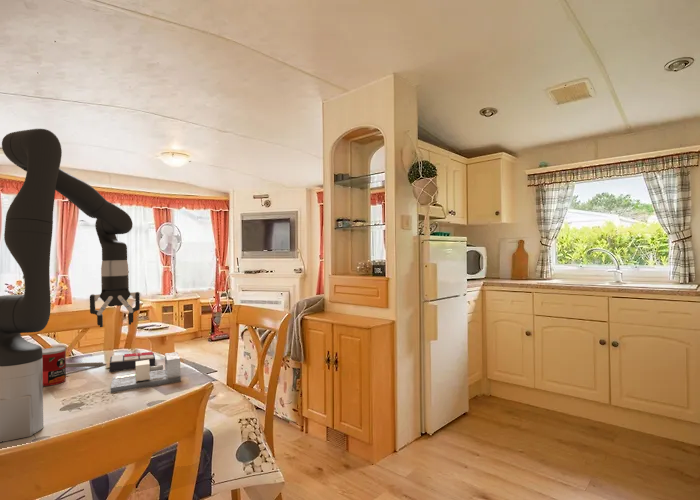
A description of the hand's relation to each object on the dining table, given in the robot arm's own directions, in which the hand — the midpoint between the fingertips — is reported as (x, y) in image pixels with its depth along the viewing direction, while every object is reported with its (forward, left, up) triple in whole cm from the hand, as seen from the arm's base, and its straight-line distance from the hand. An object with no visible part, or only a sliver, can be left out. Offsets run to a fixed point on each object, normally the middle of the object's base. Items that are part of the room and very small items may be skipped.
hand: (115, 325), depth 127 cm
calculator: (+27, -4, -21) cm, 34 cm away
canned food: (+18, +19, -20) cm, 33 cm away
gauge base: (+1, -9, -20) cm, 22 cm away
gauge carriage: (+2, -9, -18) cm, 20 cm away
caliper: (+30, +14, -20) cm, 39 cm away
